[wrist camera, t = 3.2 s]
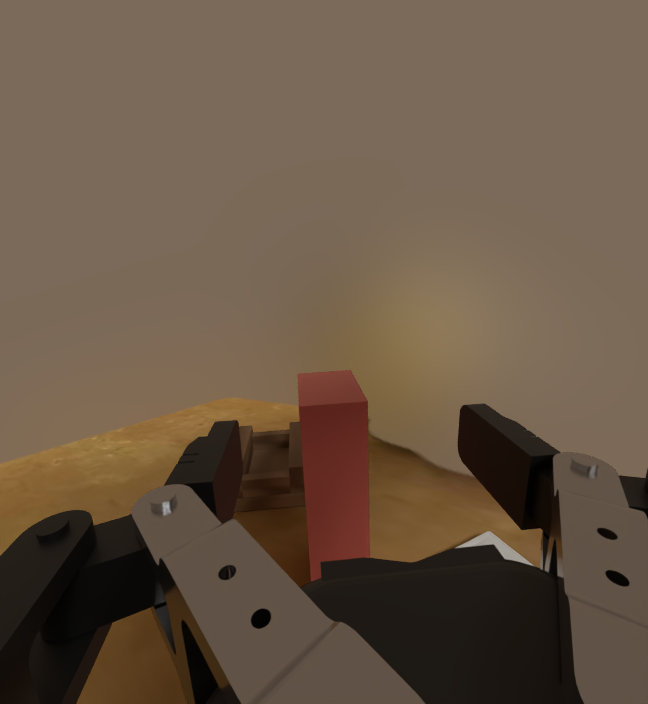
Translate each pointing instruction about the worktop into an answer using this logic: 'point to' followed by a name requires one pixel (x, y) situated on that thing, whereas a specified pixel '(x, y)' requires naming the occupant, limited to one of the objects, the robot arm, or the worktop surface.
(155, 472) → the worktop surface
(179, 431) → the worktop surface
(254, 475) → the rack
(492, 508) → the worktop surface
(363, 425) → the salmon rectangular prism
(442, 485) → the worktop surface
